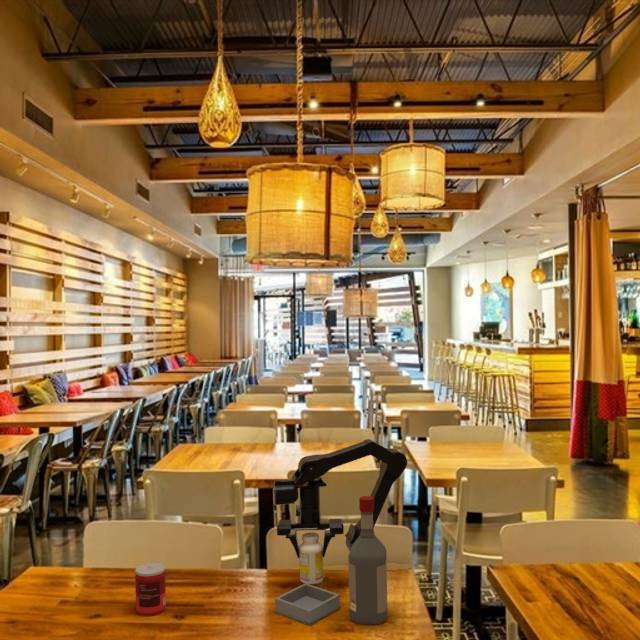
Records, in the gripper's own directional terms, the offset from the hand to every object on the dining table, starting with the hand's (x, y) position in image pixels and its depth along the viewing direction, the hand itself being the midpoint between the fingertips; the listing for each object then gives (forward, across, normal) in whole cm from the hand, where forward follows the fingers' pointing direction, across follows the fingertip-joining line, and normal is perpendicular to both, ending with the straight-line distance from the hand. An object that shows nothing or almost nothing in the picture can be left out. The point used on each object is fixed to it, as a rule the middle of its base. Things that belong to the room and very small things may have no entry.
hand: (311, 557), depth 179 cm
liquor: (+8, -15, +19) cm, 26 cm away
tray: (+8, +1, +15) cm, 17 cm away
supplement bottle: (+7, 0, 0) cm, 7 cm away
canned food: (+8, +42, +13) cm, 45 cm away
